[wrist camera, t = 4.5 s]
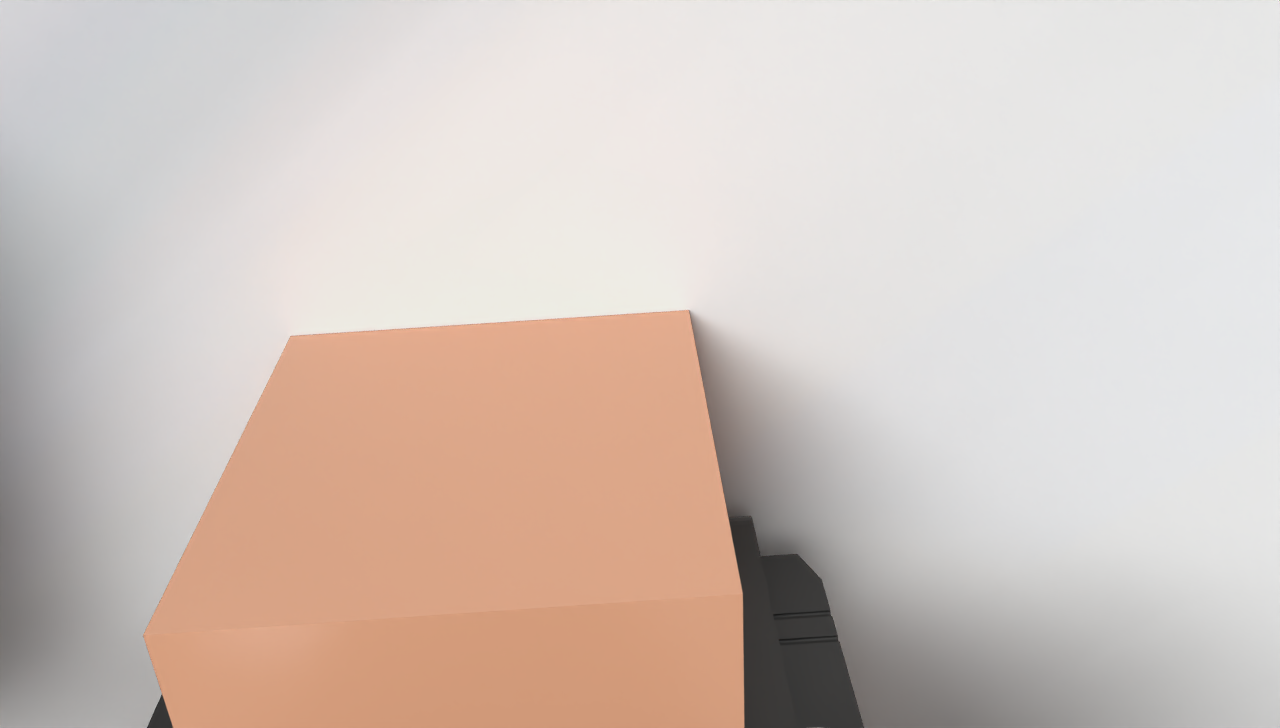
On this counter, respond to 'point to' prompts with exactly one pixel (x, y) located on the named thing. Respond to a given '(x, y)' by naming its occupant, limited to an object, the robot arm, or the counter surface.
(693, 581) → the terracotta brick
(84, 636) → the counter surface
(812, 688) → the robot arm
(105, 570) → the counter surface
